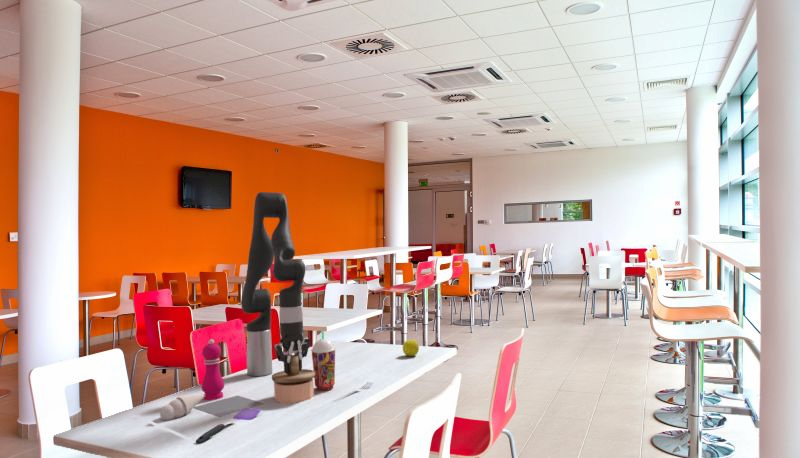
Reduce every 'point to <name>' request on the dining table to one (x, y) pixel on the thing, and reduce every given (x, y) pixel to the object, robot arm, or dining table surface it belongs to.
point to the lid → (293, 373)
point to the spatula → (243, 415)
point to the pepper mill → (212, 372)
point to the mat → (228, 406)
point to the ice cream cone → (179, 407)
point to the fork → (352, 392)
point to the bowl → (293, 391)
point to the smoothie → (324, 364)
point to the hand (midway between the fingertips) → (293, 372)
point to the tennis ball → (410, 348)
